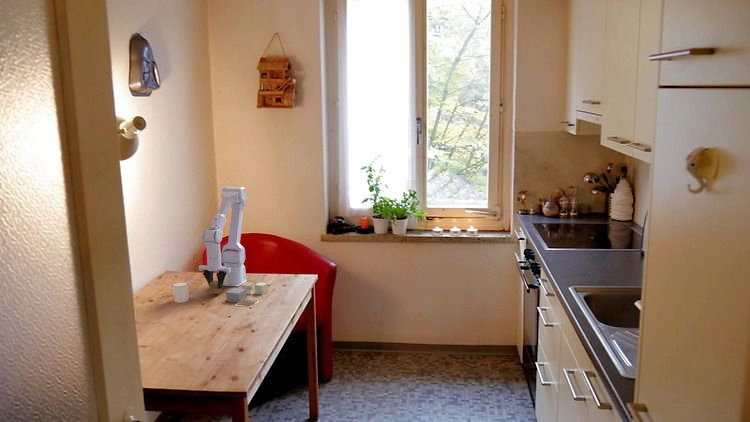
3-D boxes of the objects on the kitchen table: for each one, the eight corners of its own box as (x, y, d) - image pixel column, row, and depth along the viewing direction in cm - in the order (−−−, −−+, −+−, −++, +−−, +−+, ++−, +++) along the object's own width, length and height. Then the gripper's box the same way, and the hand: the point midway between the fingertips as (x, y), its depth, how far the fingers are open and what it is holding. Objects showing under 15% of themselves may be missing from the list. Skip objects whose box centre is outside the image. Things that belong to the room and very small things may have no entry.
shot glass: (179, 304, 274) (178, 287, 273) (169, 301, 278) (168, 285, 277) (193, 299, 279) (192, 283, 278) (183, 296, 283) (182, 281, 282)
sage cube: (260, 291, 290) (260, 282, 289) (268, 292, 288) (267, 283, 288) (254, 293, 287) (254, 284, 286) (262, 294, 285) (262, 285, 284)
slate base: (234, 297, 283) (234, 288, 282) (246, 298, 281) (246, 289, 280) (226, 301, 277) (226, 292, 276) (239, 302, 275) (238, 293, 274)
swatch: (243, 300, 278) (243, 298, 277) (259, 301, 275) (259, 300, 275) (235, 305, 271) (235, 304, 271) (251, 307, 269) (251, 305, 269)
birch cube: (244, 291, 290) (243, 282, 290) (253, 291, 290) (253, 282, 289) (242, 294, 286) (241, 285, 286) (251, 294, 286) (251, 285, 286)
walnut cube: (214, 289, 288) (213, 280, 288) (222, 289, 287) (222, 281, 286) (209, 292, 285) (209, 283, 284) (217, 292, 283) (217, 283, 283)
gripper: (193, 258, 281) (196, 289, 284) (224, 260, 277) (226, 291, 280) (202, 254, 288) (204, 284, 291) (232, 256, 284) (234, 286, 286)
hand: (216, 287), depth 286 cm, fingers closed on walnut cube, 4 cm apart
